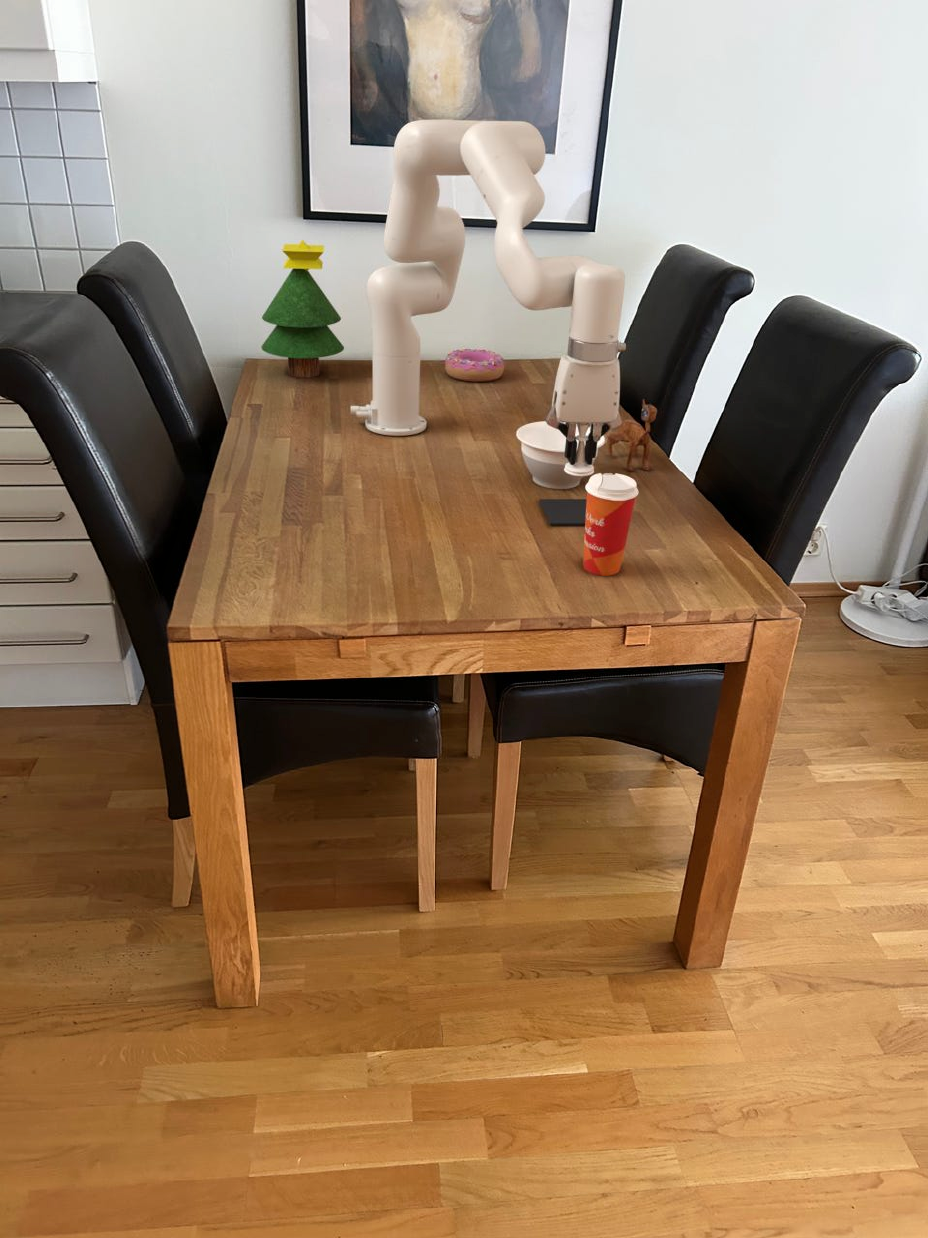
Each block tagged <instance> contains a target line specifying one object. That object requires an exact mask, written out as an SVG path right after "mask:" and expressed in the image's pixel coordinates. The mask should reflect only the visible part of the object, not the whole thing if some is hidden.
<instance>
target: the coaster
mask: <svg viewBox="0 0 928 1238" xmlns="http://www.w3.org/2000/svg"><path fill="white" fill-rule="evenodd" d="M586 503H587V498H540V499H539V504H540V507H541V508H542V511H543V513H544V516H545V517H546V519H547V522H548V524H549V526H550V527H585V520H586Z"/></svg>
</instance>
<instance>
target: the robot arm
mask: <svg viewBox="0 0 928 1238" xmlns="http://www.w3.org/2000/svg"><path fill="white" fill-rule="evenodd" d="M393 146H394V147H393V153H392V155H393V156H392V163H393V181H392V187H391V192H390V197H389V202H388V203H389V205H388V209H387V216H386V221H385V227H384V233H383V248H384V251H385V254H386V256H387V257H388V258H389V259H390V260H392V261H393V262H395V263H399V264H391V265H386V266H382V267H379V268H377V269H376V270H375V271H373V272H372V273H371V274H370V276H369V277H368V280H367V283H366V298H367V303H368V308H369V314H370V322H371V323H370V324H371V348H372V350H371V352H372V356H371V357H372V400H370V404H365V406H360V405H350V416H356V419H365V420H364V425H365V428H366V429H367V430H368V431H370V432H372V433H375V434H377V435H382V436H389V437H390V436H391V437H405V436H413V435H417V434H419V433H422V432H423V431H425V430H426V428H427V420H426V419H425V418H424V417H422V416H421V415H420V392H421V391H420V390H421V389H420V388H421V387H420V385H421V338H420V335H419V332H418V330H417V328H416V327H415V325H414V322H413V320H412V317H417V316H423V315H428V314H429V315H431V314H435V313H439V312H443V311H444V310H446V309H447V308H448V306H449V305H450V303H451V302H452V301H453V300H452V299H453V298H454V293H455V290H456V287H457V282H458V277H459V273H460V269H461V265H462V260H463V256H464V252H465V247H466V230H465V229H466V228H465V224H464V222H463V219H462V217H461V215H460V214H459V212H458V211H456V210H455V209H453V208H451V207H449V206H445V205H438V204H439V200H440V193H441V191H440V190H441V188H440V182H439V179H438V176H439V177H441V176H443V177H445V176H447V177H448V176H456V177H459V176H470V177H471V178H472V181H473V182H474V184H475V185H476V187H477V190H479V192H480V195H481V196H482V198H483V200H484V201H485V203H486V204H487V206H488V209H489V210H490V212H491V213H492V215H493V217H494V218H495V221H496V223H497V224H496V227H495V231H494V232H495V233H494V238H493V239H494V240H493V241H494V242H493V243H494V244H493V245H494V258H495V263H496V266H497V270H498V272H499V274H500V277H502V279H503V281H504V283H505V284H506V286H507V288H508V291H510V293H511V295H512V296H513V297H514V299H515V300H516V301H517V302H518V304H519V305H520V306H522V307H523V308H525V309H527V310H530V311H545V310H550V309H551V310H552V309H558V308H569V307H571V312H570V321H569V322H570V323H569V332H568V340H567V341H568V342H567V351H566V352H567V353H566V354H562V355H561V358H560V360H559V364H558V367H557V371H556V377H555V382H554V387H553V394H552V400H551V409H550V411H549V412H548V413H547V416H546V418H545V421H546V423H547V425H549V426H551V427H553V428H555V429H558V430H559V431H560V432H561V433H562V434H563V435H564V436H565V437H566V444H565V458H567V460H568V461H569V463H570V465H574V464H575V461H576V452H577V441H576V437H575V433H576V426H577V423H589V427H590V433H589V434H588V436H587V437H588V440H587V441H585V460H586V463H587V464H588V465H592V459H593V458H595V457H596V450H597V442H598V441H599V440H600V439H601V437H602V436H605V434H606V433H608V432H609V431H611V430H613V429H615V428H618V427H619V426H620V425H621V424H622V420H623V419H622V417H621V414H620V411H619V407H620V397H621V396H620V395H621V394H620V393H621V392H620V391H621V369H620V368H621V367H620V360H619V358H618V354H619V353H622V352H623V353H624V352H626V348H627V344H626V342H622V341H619V332H620V325H621V319H622V318H621V315H622V309H623V301H624V293H625V284H626V275H625V272H624V271H623V269H622V268H620V267H618V266H616V265H612V264H611V265H610V264H604V263H599V262H596V261H595V260H593V259H591V258H589V257H587V256H585V255H579V254H572V255H571V254H569V255H559V256H547V257H546V256H545V257H537V256H536V254H535V253H534V252H533V250H532V248H531V246H530V245H529V243H528V241H527V239H526V237H525V235H524V230H523V229H524V228H526V226H529V224H531V223H532V222H533V221H534V220H535V219H536V218H537V217H538V215H539V214H540V213H541V211H542V210H543V208H544V205H545V201H546V195H545V192H544V189H543V187H542V186H541V184H540V183H539V181H538V179H537V178H536V176H535V175H537V174H539V172H540V171H541V169H542V168H543V166H544V163H545V160H546V144H545V141H544V138H543V136H542V134H541V132H540V131H539V129H537V127H535V126H534V125H533V124H532V123H531V122H527V121H523V120H475V119H474V120H464V119H462V120H461V119H418V120H413V121H410V122H408V123H406V124H405V125H404V126H402V127H401V128H400V130H399V132H398V133H397V135H396V138H395V140H394V145H393ZM563 422H565V424H564V423H563ZM596 458H597V457H596Z"/></svg>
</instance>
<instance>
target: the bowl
mask: <svg viewBox="0 0 928 1238" xmlns="http://www.w3.org/2000/svg"><path fill="white" fill-rule="evenodd" d="M563 423H564V424H565V422H563ZM589 433H590V426H589V428H588V430H587V432H586V436H588V434H589ZM578 435H579V432H578V427H577V426H576V433H575V437H576V436H578ZM516 438H517V439H518V440H519V441H520V442H521V445H520V446H521V447H520V448H521V454H522V458H523V462H524V464H525V466H526V467H527V470H528V471H529V472H530V474H531V476H532V481H533V482H534V483H535V484H536V485H538V486H541V487H544V488H548V489H554V490H567V489H573V488H576V487H577V486H579V485H580V483H581V480H582V479H583V478H584V477H585V476H575V475H570V474H568V473H566V472H565V471H564V468H565V465H566V464H567V463H569V461H568V460H567V458H565V444H566V437H565V436H564V435H563V434H562V433H561V432H560V431H559V430H558V429H555V428H553V427H551V426H549V425H547V423H546V420H544V421H535V422H531V423H526V424H524V425H522V426H520V427H519V428H518V429H517V430H516ZM576 441H577V448H578V443H579V441H578V440H576ZM605 444H606V439H605V435H603V436H602V437H601V439H600V440H599V441H598V442H597V450H596V457H595V458H593V459H592V465H593V466H594V464H595V462H596V460H597V459H596V458H597V457H598V452H599V448H601V447H602V446H604V445H605ZM576 453H577V452H576Z"/></svg>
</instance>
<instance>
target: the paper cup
mask: <svg viewBox="0 0 928 1238" xmlns="http://www.w3.org/2000/svg"><path fill="white" fill-rule="evenodd" d="M637 486H638V484H637V481H636V480H635V479H634V478H632V477H630V476H628V475H626V474H621V473H616V472H615V474H613V472H612V473H611V472H609V473H608V472H607V473H603V474H602V473H601V472H599V473H595V474H592V475H590V478H589V479H588V482H587V483H586V484H585V490H586V499H587V503H586V520H585V526H584V537H583V539H584V540H583V556H582V557H583V559H582V560H583V562H582V563H583V565H582V566H583V569H584V570H585V571H586V572H588V573H589V574H593V575H595V576H601V577H603V576H604V577H610V576H614V575H617V574H618V573H619V572H620V570H621V567H622V562H623V558H624V554H625V548H626V544H627V540H628V535H629V530H630V526H631V525H630V524H631V521H632V520H631V519H632V517H633V511H634V506H635V501H636V498H637V496H638V495H639V489H638V487H637Z"/></svg>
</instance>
